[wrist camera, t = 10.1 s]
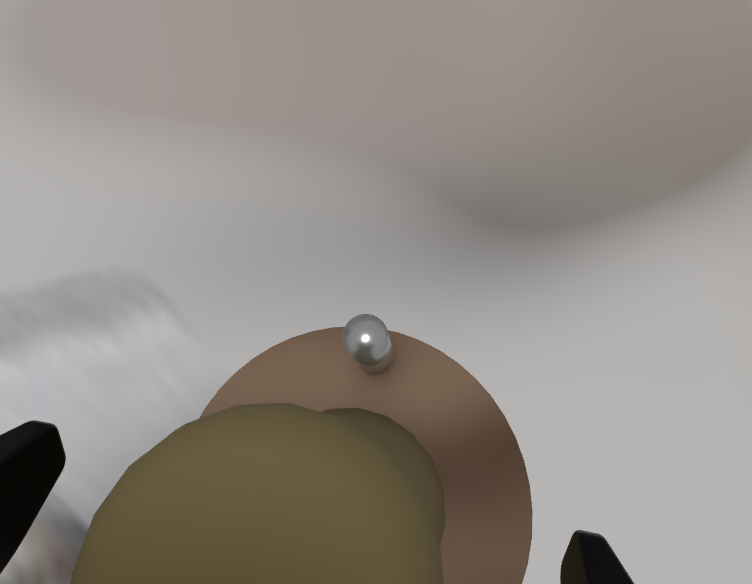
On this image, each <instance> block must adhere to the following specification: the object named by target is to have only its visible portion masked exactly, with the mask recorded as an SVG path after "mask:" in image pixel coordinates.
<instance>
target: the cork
mask: <svg viewBox="0 0 752 584" xmlns="http://www.w3.org/2000/svg"><path fill="white" fill-rule="evenodd" d="M444 526H445V508H444V492H443V487H442V484H441V482H440V479H439V476H438V474H437V471H436V468H435V466H434V463H433V460H432V458H431V457H430V455H429V454H428V453H427V452H426V450H425V449H424V448H423V446H422V445H421V444H420V443H419V441H418V440H417V439H416V437H415V436H414V435H413V434H412V433H411V432H410V431H408V430H407V429H405V428H404V427H402V426H401V425H399V424H398V423H396V422H395V421H393V420H392V419H391V418H389V417H388V416H385V415H382V414H378V413H375V412H371V411H368V410H364V409H361V408H341V409H327V410H325V411H322V412H319V411H315V410H312V409H309V408H305V407H302V406H298V405H295V404H291V403H272V404H248V405H235V406H232V407H230V408H227V409H224V410H222V411H219V412H216V413H214V414H211V415H208V416H206V417H203V418H200V419H198V420H195V421H192V422H190V423H187V424H185V425H183V426H182V427H180V428H179V429H177V430H176V431H174V432H173V433H171V434H170V435H169V436H168V437H166V438H165V439H164V440H162V441H161V442H160V443H159V444H157V445H156V446H155V447H153V448H152V449H151V450H150V451H148V452H147V453H146V454H144V455H143V456H142V457H140V458H139V459H138V460H137V461H135V462H134V463H133V464H131V465H130V466H129V467H128V469H127V470H126V471H125V473H124V474H123V476H122V477H121V478H120V480H119V481H118V482H117V484H116V485H115V487H114V488H113V489H112V491H111V492H110V493H109V495H108V496H107V498H106V499H105V500H104V502H103V503H102V504H101V506H100V507H99V509H98V510H97V511H96V513H95V514H94V516H93V519H92V522H91V524H90V527H89V530H88V532H87V535H86V538H85V540H84V543H83V546H82V548H81V551H80V554H79V556H78V559H77V562H76V564H75V567H74V570H73V572H72V579H71V584H443V568H442V553H441V550H440V543H441V539H442V535H443V531H444Z"/></svg>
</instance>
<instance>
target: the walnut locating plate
mask: <svg viewBox="0 0 752 584" xmlns="http://www.w3.org/2000/svg"><path fill="white" fill-rule="evenodd" d="M272 403H291V404H295V405H298V406H302V407H305V408H309V409H312V410H315V411H319V412H322V411H325V410H327V409H341V408H361V409H364V410H368V411H371V412H375V413H378V414H382V415H385V416H388V417H389V418H391V419H392V420H393V421H395V422H396V423H398V424H399V425H401V426H402V427H404V428H405V429H407V430H408V431H410V432H411V433H412V434H413V435H414V436H415V437H416V439H417V440H418V441H419V443H420V444H421V445H422V446H423V448H424V449H425V450H426V452H427V453H428V454H429V455H430V457H431V458H432V460H433V463H434V466H435V468H436V471H437V474H438V476H439V479H440V482H441V484H442V487H443V492H444V508H445V526H444V531H443V535H442V539H441V543H440V550H441V553H442V568H443V584H522V581H523V578H524V575H525V571H526V567H527V564H528V557H529V551H530V545H531V539H532V503H531V494H530V485H529V480H528V476H527V472H526V467H525V463H524V460H523V457H522V454H521V452H520V449H519V446H518V443H517V440H516V438H515V436H514V434H513V432H512V430H511V428H510V426H509V424H508V422H507V420H506V418H505V416H504V414H503V413H502V412H501V410H500V409H499V407H498V406H497V404H496V403H495V401H494V400H493V398H492V397H491V395H490V394H489V393H488V392H487V391H486V390H485V389H484V388H483V386H482V385H481V384H480V383H479V382H478V381H477V380H476V378H474V377H473V376H472V375H471V374H470V373H469V372H468V371H467V370H465V369H464V368H463V367H462V366H461V365H459V363H457V362H455V361H454V360H453V359H451V358H450V357H448V356H447V355H445V354H444V353H443V352H441V351H440V350H438V349H436V348H434V347H432V346H430V345H428V344H426V343H424V342H422V341H420V340H417V339H415V338H412V337H409V336H406V335H403V334H400V333H397V332H392V331H388V330H387V328H386V326H385V324H384V323H383V322H382V321H381V320H380V319H379V318H378V317H375V316H373V315H369V314H362V315H358V316H356V317H354V318H353V319H351V320H350V321H349V322H348V323H347V325H346V327H335V328H329V329H323V330H317V331H312V332H309V333H306V334H302V335H299V336H296V337H293V338H290V339H288V340H286V341H284V342H282V343H279V344H277V345H275V346H273V347H271V348H269V349H268V350H266V351H265V352H263V353H261V354H260V355H258V356H257V357H255V358H253V359H252V360H251V361H250V362H248V363H247V364H246V365H245V366H243V367H242V368H241V369H240V370H238V371H237V372H236V373H235V374H234V375H233V376H232V377H231V378H230V379H229V380H228V381H227V382H226V383H225V384H224V385H223V386H222V387H221V388H220V389H219V391H218V392H217V393H216V395H215V396H214V397H213V399H212V400H211V401H210V403H209V404H208V405H207V407H206V408H205V410H204V411H203V413H202V415H201V416H200V418H203V417H206V416H208V415H211V414H214V413H216V412H219V411H222V410H224V409H227V408H230V407H232V406H235V405H248V404H272ZM200 418H199V419H200Z"/></svg>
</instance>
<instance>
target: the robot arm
mask: <svg viewBox="0 0 752 584" xmlns="http://www.w3.org/2000/svg"><path fill="white" fill-rule="evenodd" d="M65 461H66V456H65V452H64V448H63V445H62V441H61V438H60V435H59V431H58V429H57V427H56V426H55V425H54V424H51V423H46V422H41V421H29V422H26V423H24V424H22V425H20V426H18V427H16V428H14V429H12V430H10V431H8V432H6V433H4V434H2V435H0V574H1V572H2V571H3V569H4V568H5V567H6V565H7V564H8V562H9V561H10V559H11V558H12V556H13V555H14V553H15V552H16V550H17V549H18V547H19V545H20V544H21V542H22V540H23V539H24V537H25V535H26V534H27V532H28V530H29V528H30V527H31V525H32V523H33V521H34V520H35V518H36V516H37V514H38V513H39V511H40V509H41V507H42V506H43V504H44V502H45V500H46V499H47V497H48V495H49V493H50V492H51V490H52V488H53V486H54V484H55V483H56V481H57V479H58V477H59V476H60V474H61V472H62V470H63V468H64V465H65ZM560 579H561V584H634V583H633V581H632V579H631V578H630V576H629V575H628V573H627V572H626V570H625V569H624V567H623V565H622V564H621V562H620V561H619V559H618V558H617V556H616V555H615V553H614V552H613V550H612V548H611V547H610V545H609V544H608V542H607V541H606V539H605V538H604V537H603V536H601V535H600V534H597V533H592V532H587V531H582V530H577V531H575V533H574V534H573V535H572V538H571V540H570V543H569V545H568V548H567V550H566V553H565V555H564V558H563V561H562V565H561V576H560Z"/></svg>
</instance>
